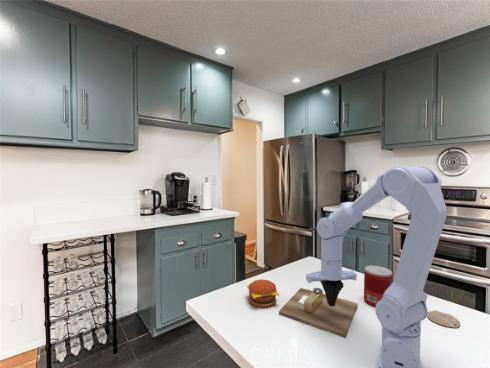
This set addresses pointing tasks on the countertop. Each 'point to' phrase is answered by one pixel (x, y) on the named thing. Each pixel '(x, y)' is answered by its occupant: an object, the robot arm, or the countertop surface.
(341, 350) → the countertop surface
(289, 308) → the plate
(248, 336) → the countertop surface
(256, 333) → the countertop surface
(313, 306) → the bar
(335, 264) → the robot arm
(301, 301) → the white rectangular block
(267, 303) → the hamburger
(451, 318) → the flatbread
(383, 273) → the canned food
